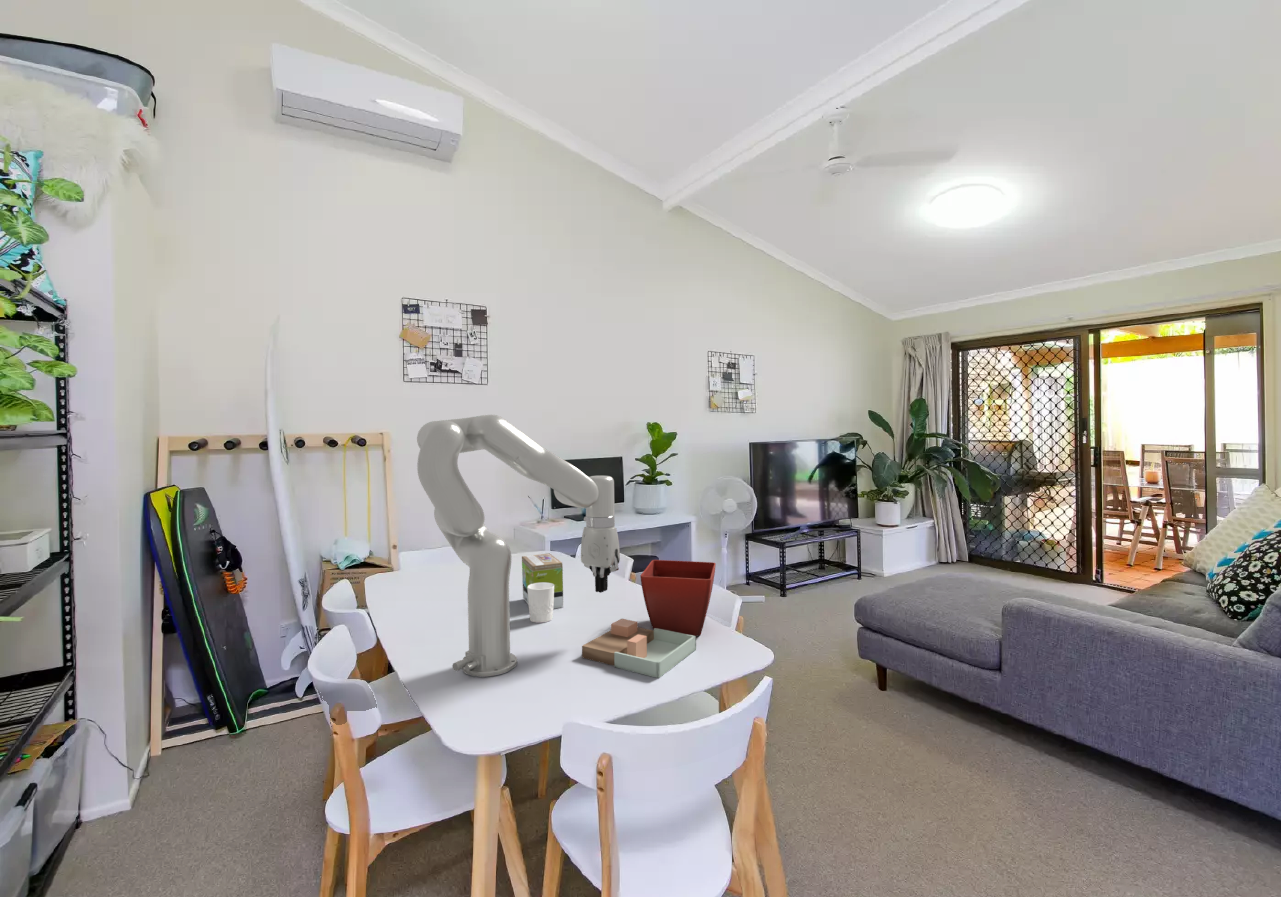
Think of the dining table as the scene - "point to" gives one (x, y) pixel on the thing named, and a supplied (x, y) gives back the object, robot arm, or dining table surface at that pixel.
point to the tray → (659, 654)
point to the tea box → (543, 575)
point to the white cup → (541, 601)
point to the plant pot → (678, 594)
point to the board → (611, 646)
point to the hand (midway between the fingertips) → (601, 590)
